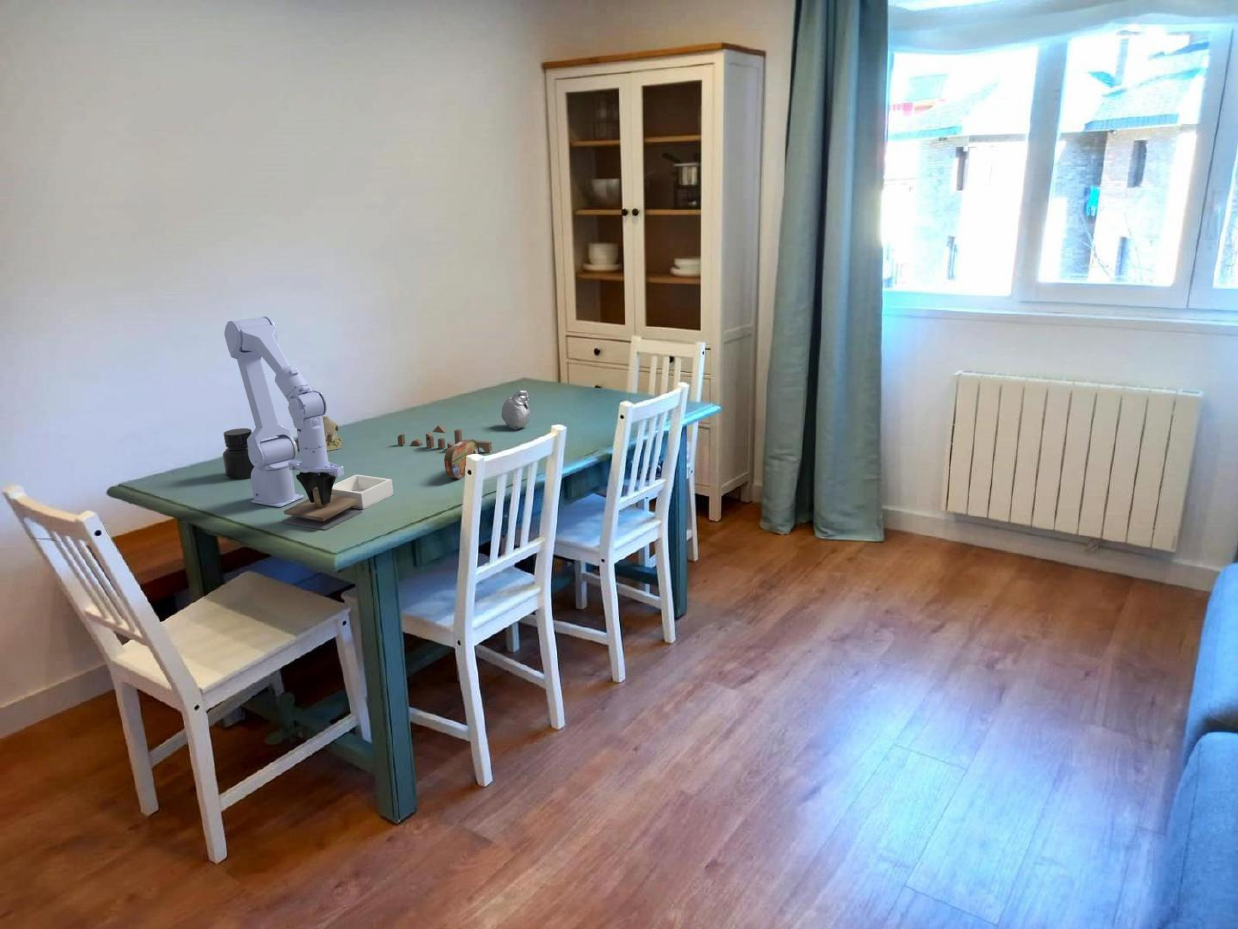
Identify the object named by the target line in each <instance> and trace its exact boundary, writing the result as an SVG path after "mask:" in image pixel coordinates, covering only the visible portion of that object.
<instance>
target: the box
mask: <svg viewBox="0 0 1238 929" xmlns="http://www.w3.org/2000/svg"><path fill="white" fill-rule="evenodd" d="M331 495H335V496H342V497H348V498H354V499H359V503H357V504H355V505H353V506H351V507H349V509H355V510H356V509H357V510H361V511H363V510H366V509H368V508H370V507H372V506H374V505H376V504H378V503H380V502H382V501H385V500H386V499H388V498H390V497H392V496H393V495H394V488H393V479H391V478H384V477H377V476H369V475H363V474H358V473H357V474H354V475H351V476H350V477H348V478H345V479H343V480H341V481H339V482H335V483H334V485H333V488H332V493H331Z"/></svg>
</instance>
